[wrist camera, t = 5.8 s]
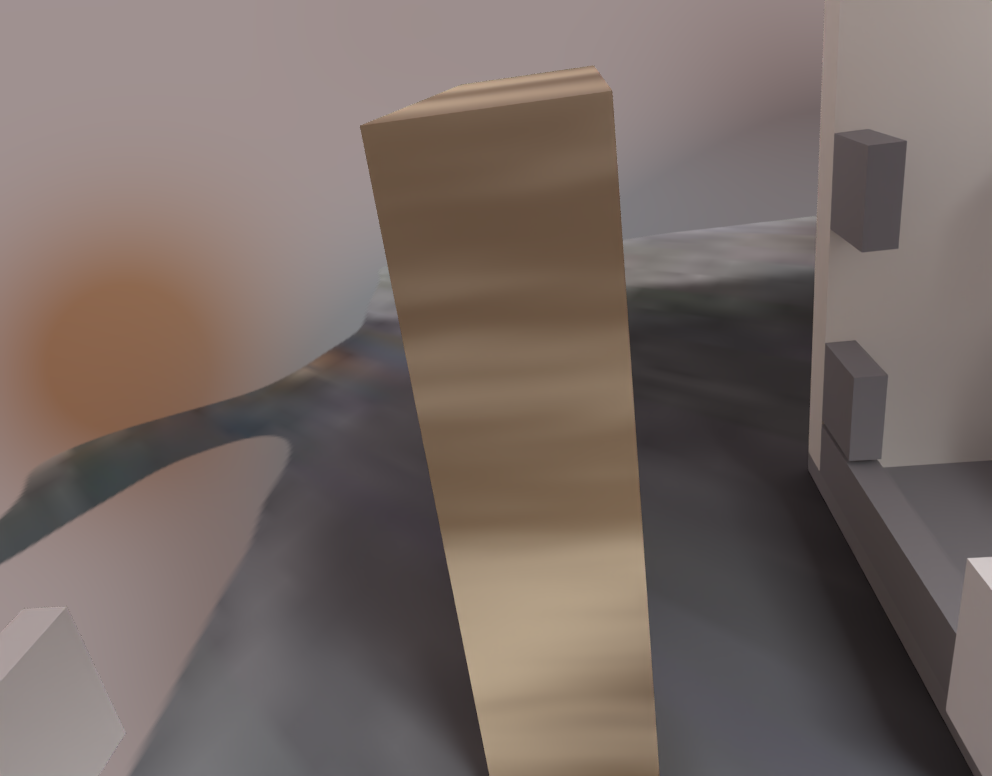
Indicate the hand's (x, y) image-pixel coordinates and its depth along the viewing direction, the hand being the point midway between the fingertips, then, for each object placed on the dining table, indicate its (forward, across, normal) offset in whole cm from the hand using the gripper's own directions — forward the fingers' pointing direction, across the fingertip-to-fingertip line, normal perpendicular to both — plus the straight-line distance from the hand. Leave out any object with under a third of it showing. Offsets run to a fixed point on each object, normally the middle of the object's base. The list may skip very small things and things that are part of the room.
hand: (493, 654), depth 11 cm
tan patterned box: (+10, 0, -9) cm, 13 cm away
